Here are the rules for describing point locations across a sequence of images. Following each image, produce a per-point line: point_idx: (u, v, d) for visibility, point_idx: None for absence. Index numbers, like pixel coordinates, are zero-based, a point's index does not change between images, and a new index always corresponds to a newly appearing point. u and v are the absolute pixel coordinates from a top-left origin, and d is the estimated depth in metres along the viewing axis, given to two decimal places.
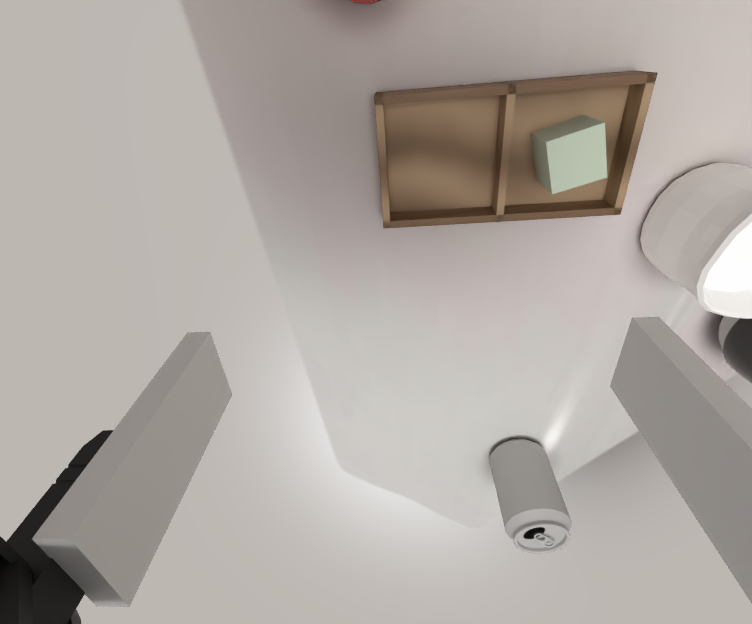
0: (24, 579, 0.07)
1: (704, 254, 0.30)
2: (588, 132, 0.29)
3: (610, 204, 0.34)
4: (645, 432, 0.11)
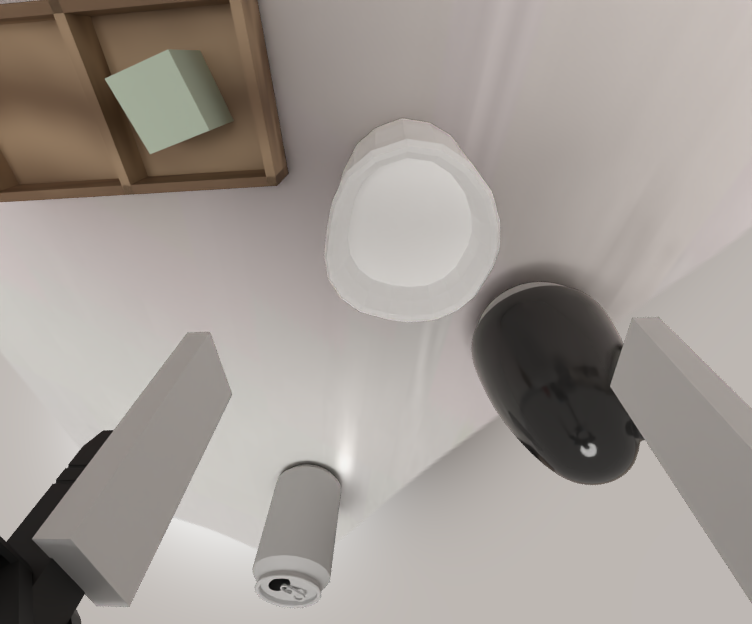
0: (24, 579, 0.07)
1: None
2: (153, 64, 0.21)
3: None
4: (645, 432, 0.11)
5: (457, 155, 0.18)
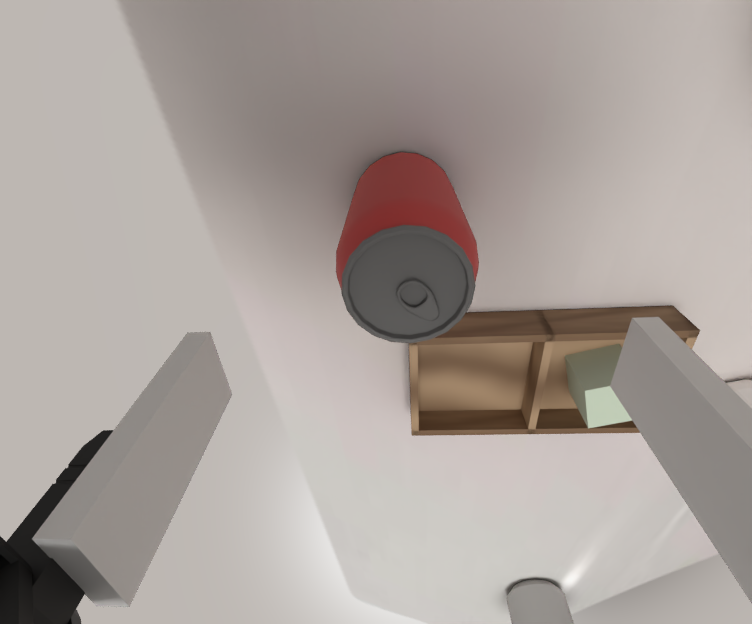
0: (24, 579, 0.07)
1: None
2: None
3: None
4: (645, 432, 0.11)
5: None
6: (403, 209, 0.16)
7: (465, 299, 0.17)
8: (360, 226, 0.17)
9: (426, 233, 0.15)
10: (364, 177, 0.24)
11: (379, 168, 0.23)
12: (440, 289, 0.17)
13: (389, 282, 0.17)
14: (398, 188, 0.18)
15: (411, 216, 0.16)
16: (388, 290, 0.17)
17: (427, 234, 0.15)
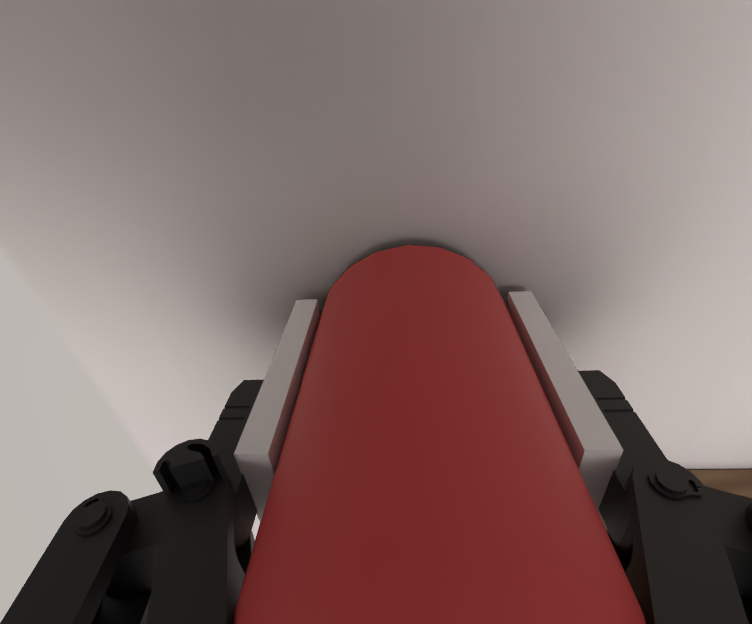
0: (229, 496, 0.08)
1: None
2: None
3: None
4: None
5: None
6: None
7: None
8: None
9: None
10: (336, 302, 0.12)
11: (365, 296, 0.11)
12: None
13: None
14: (410, 453, 0.06)
15: None
16: None
17: None
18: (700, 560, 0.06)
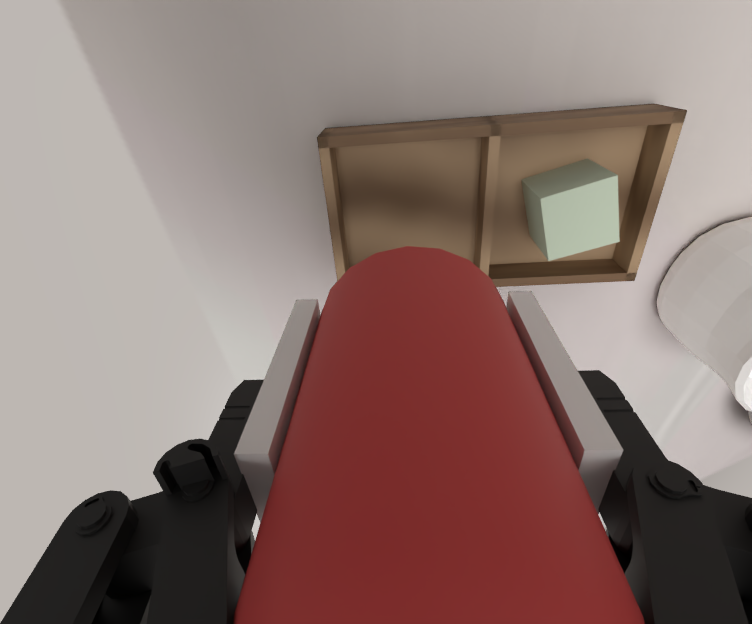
0: (230, 496, 0.08)
1: (746, 343, 0.23)
2: (596, 187, 0.22)
3: (621, 266, 0.27)
4: None
5: None
6: None
7: None
8: None
9: None
10: (336, 303, 0.12)
11: (364, 297, 0.11)
12: None
13: None
14: (409, 455, 0.06)
15: None
16: None
17: None
18: (700, 560, 0.06)
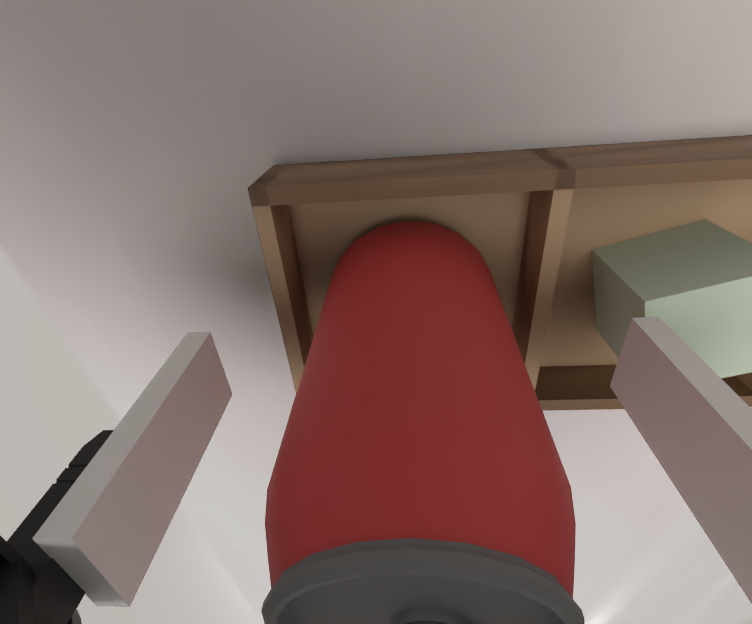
0: (24, 579, 0.07)
1: None
2: (751, 285, 0.12)
3: (742, 380, 0.17)
4: (644, 432, 0.11)
5: None
6: (411, 473, 0.06)
7: None
8: (307, 492, 0.07)
9: (472, 578, 0.06)
10: (343, 269, 0.14)
11: (367, 262, 0.13)
12: None
13: (374, 612, 0.07)
14: (398, 368, 0.08)
15: (430, 501, 0.06)
16: (374, 620, 0.07)
17: (475, 580, 0.06)
18: None
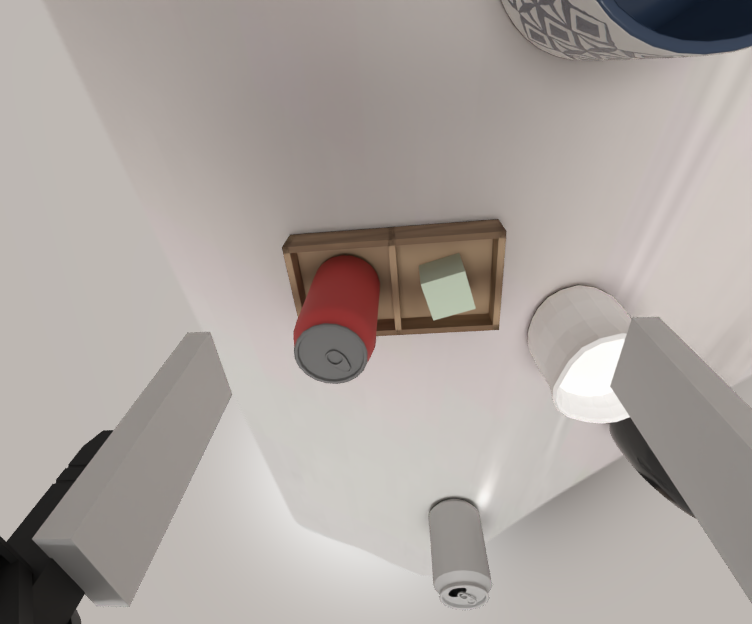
0: (24, 579, 0.07)
1: (555, 373, 0.36)
2: (453, 277, 0.35)
3: (491, 319, 0.40)
4: (645, 432, 0.11)
5: None
6: (326, 313, 0.30)
7: (363, 359, 0.30)
8: (304, 321, 0.30)
9: (335, 328, 0.29)
10: (317, 274, 0.37)
11: (325, 270, 0.36)
12: (349, 354, 0.30)
13: (320, 351, 0.30)
14: (327, 295, 0.31)
15: (329, 317, 0.29)
16: (321, 355, 0.31)
17: (336, 328, 0.29)
18: None
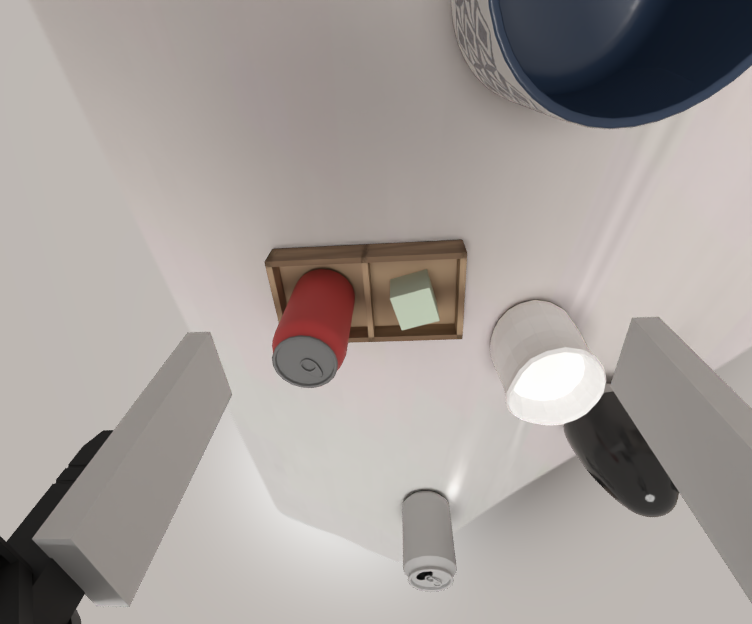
0: (24, 579, 0.07)
1: (509, 380, 0.40)
2: (419, 293, 0.39)
3: (456, 329, 0.44)
4: (645, 432, 0.11)
5: (589, 354, 0.37)
6: (301, 326, 0.33)
7: (333, 367, 0.34)
8: (281, 332, 0.34)
9: (309, 340, 0.32)
10: (297, 286, 0.41)
11: (303, 284, 0.40)
12: (322, 362, 0.34)
13: (296, 359, 0.34)
14: (303, 309, 0.35)
15: (303, 330, 0.33)
16: (296, 362, 0.34)
17: (309, 340, 0.33)
18: None
